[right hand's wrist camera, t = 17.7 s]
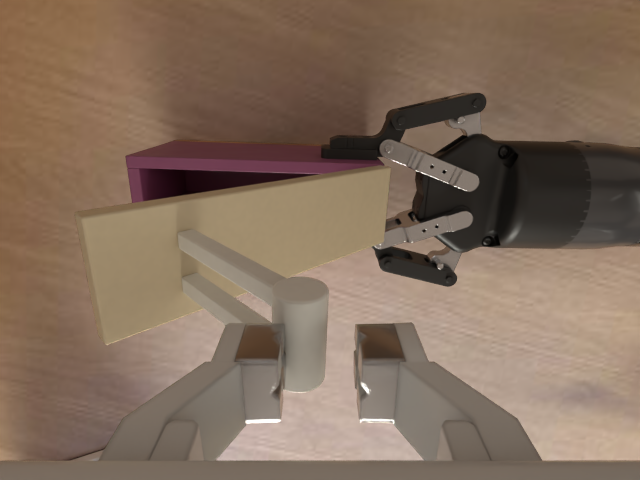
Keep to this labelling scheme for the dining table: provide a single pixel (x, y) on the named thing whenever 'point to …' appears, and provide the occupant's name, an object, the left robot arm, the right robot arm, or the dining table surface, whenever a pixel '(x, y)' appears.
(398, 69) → the dining table surface
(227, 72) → the dining table surface
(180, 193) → the chest
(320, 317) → the lid
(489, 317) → the dining table surface
